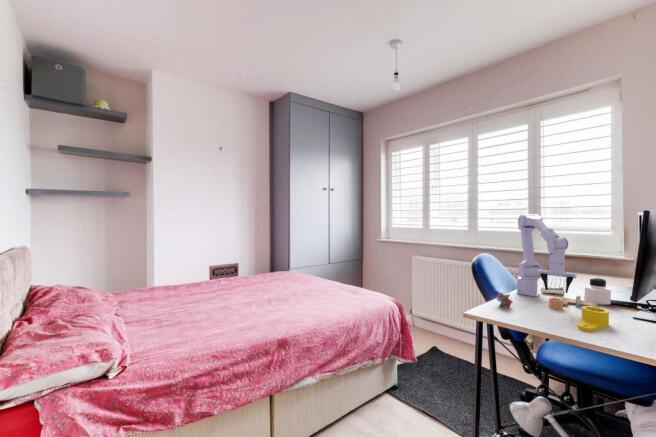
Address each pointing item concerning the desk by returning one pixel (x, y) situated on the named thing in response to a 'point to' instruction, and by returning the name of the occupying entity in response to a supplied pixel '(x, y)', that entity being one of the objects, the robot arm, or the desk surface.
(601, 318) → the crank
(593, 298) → the medicine bottle
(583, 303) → the wooden u-shaped block
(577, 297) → the post
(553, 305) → the hollow octagonal tube
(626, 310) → the desk surface
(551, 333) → the desk surface
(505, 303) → the geometric puzzle
